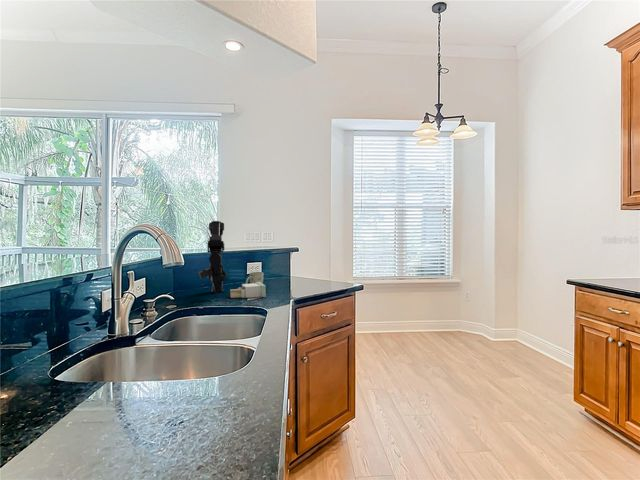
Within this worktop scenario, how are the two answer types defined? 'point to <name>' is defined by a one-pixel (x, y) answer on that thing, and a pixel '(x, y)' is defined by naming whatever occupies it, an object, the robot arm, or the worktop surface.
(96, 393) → the worktop surface
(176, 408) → the worktop surface
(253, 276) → the mug
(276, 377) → the worktop surface
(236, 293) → the dowel
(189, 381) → the worktop surface
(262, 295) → the wall
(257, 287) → the block
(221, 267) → the robot arm
